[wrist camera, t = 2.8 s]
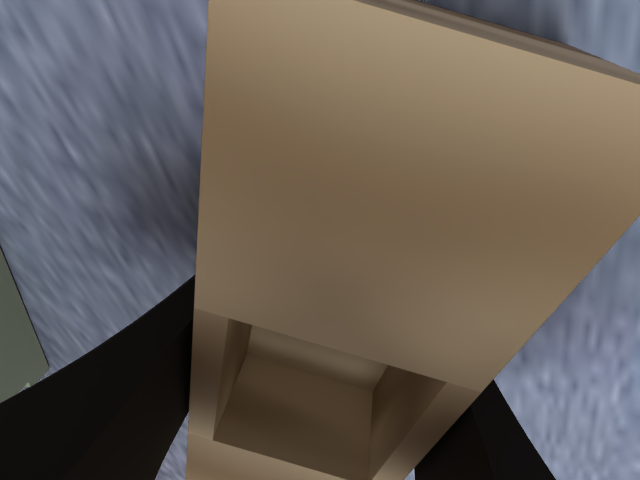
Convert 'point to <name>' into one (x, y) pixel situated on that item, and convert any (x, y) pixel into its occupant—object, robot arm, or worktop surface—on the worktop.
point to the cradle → (16, 340)
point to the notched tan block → (386, 224)
